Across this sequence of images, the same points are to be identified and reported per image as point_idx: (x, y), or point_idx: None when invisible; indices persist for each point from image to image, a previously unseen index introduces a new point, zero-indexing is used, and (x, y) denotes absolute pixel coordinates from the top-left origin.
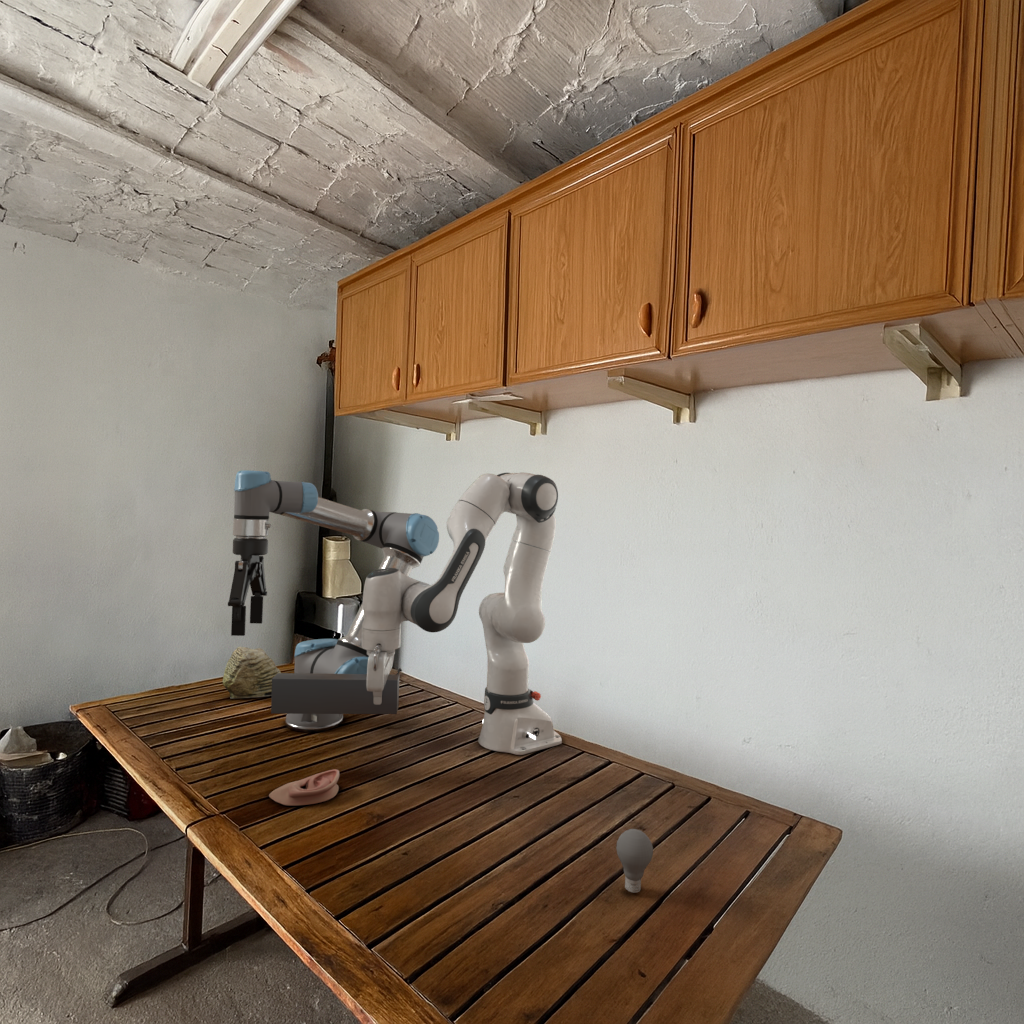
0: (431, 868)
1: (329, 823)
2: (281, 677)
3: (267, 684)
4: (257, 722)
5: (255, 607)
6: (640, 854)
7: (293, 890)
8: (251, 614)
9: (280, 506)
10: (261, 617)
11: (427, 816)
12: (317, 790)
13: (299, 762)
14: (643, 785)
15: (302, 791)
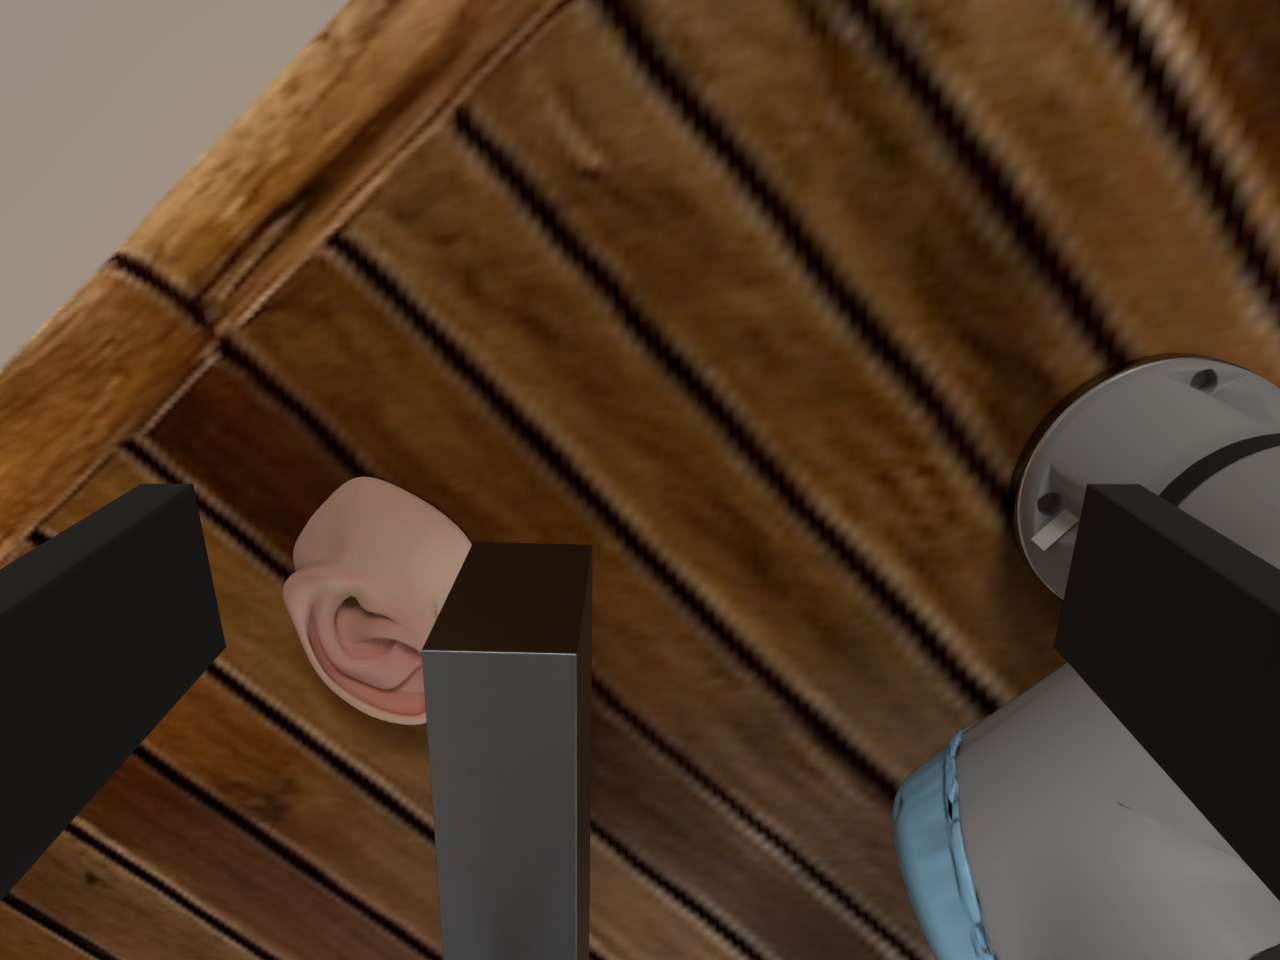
0: (39, 930)
1: (210, 690)
2: (459, 703)
3: None
4: (1212, 198)
5: (1258, 719)
6: None
7: None
8: (1173, 571)
9: None
10: (1106, 701)
11: (292, 919)
12: (311, 662)
13: (673, 514)
14: None
15: (295, 618)
